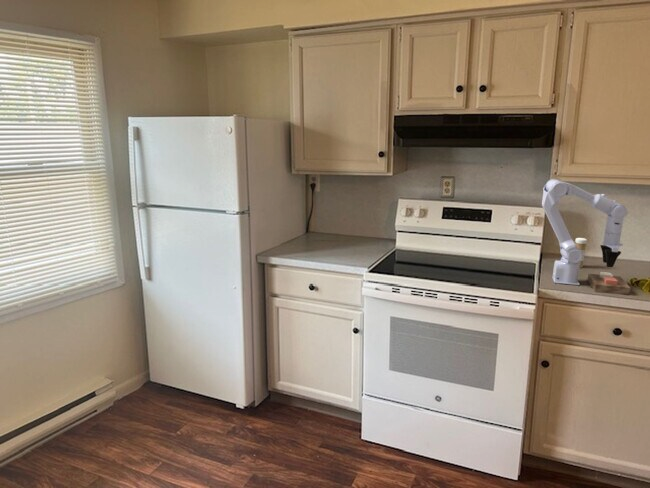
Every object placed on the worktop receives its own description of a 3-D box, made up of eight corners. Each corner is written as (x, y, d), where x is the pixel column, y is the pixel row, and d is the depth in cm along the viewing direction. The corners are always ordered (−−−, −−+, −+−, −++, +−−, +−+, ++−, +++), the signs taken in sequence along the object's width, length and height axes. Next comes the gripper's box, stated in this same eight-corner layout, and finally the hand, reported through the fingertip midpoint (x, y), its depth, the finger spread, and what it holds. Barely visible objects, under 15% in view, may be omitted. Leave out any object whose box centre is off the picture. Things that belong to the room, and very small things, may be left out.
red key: (605, 286, 193) (606, 280, 193) (603, 282, 197) (604, 277, 196) (616, 287, 192) (617, 281, 191) (614, 283, 196) (615, 278, 195)
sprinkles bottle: (573, 264, 229) (577, 237, 226) (584, 266, 226) (588, 238, 223) (570, 266, 226) (574, 238, 223) (581, 268, 223) (585, 240, 220)
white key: (601, 280, 200) (602, 274, 200) (599, 277, 204) (600, 271, 203) (612, 281, 199) (613, 275, 198) (609, 278, 203) (610, 272, 202)
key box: (594, 291, 193) (596, 284, 192) (587, 280, 206) (588, 273, 206) (629, 295, 189) (630, 287, 188) (619, 283, 203) (620, 276, 202)
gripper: (629, 237, 189) (623, 270, 192) (619, 229, 202) (614, 260, 205) (608, 235, 191) (603, 268, 194) (600, 228, 204) (595, 259, 207)
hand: (607, 264), depth 200 cm, fingers open, 6 cm apart
